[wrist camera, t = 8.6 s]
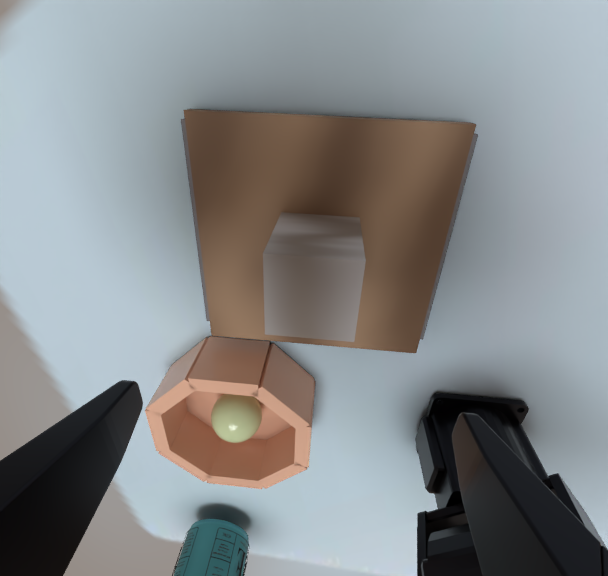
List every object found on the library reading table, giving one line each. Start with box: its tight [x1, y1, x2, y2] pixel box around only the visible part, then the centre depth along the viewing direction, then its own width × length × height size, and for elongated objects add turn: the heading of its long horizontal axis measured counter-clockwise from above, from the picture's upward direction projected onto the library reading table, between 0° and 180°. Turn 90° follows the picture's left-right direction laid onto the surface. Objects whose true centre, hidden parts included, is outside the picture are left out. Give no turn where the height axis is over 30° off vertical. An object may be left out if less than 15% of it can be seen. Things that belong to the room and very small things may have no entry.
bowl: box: [145, 336, 315, 489], centre depth 25 cm, size 11×11×4 cm
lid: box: [184, 109, 476, 353], centre depth 17 cm, size 13×13×6 cm
